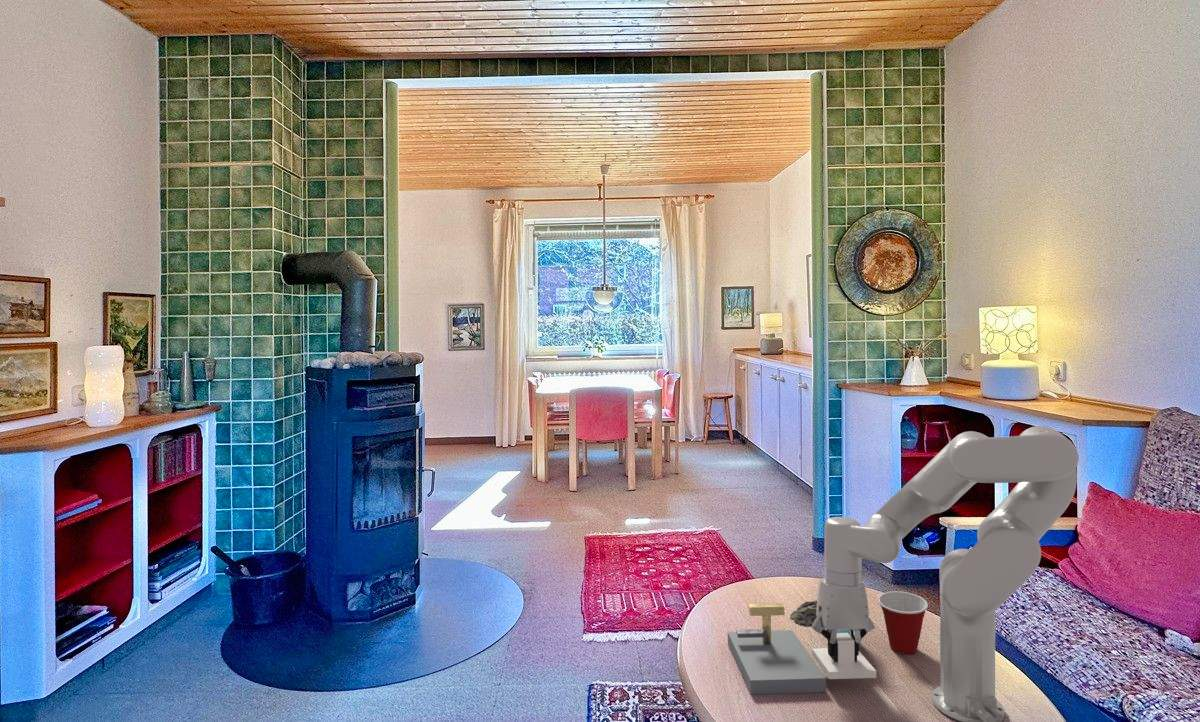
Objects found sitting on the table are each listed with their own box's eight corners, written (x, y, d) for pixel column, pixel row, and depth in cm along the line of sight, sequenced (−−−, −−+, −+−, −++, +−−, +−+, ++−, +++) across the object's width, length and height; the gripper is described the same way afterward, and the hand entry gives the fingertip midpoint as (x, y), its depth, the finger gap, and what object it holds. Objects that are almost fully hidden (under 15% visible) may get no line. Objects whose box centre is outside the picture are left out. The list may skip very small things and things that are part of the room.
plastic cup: (869, 647, 151) (868, 598, 150) (892, 634, 157) (891, 587, 157) (914, 665, 142) (914, 613, 141) (936, 650, 148) (936, 601, 148)
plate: (825, 692, 132) (825, 678, 132) (750, 694, 132) (750, 680, 132) (792, 642, 154) (792, 630, 154) (727, 643, 154) (727, 631, 154)
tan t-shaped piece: (738, 644, 147) (737, 607, 147) (736, 640, 149) (735, 604, 149) (784, 643, 147) (784, 606, 147) (782, 639, 149) (782, 603, 149)
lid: (876, 677, 131) (876, 647, 131) (829, 679, 131) (829, 648, 131) (855, 654, 141) (855, 625, 141) (812, 655, 141) (812, 626, 141)
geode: (787, 604, 177) (791, 628, 163) (787, 590, 177) (791, 613, 163) (859, 610, 173) (869, 635, 158) (859, 596, 173) (869, 619, 158)
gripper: (872, 568, 140) (872, 649, 140) (799, 570, 139) (799, 651, 140) (888, 581, 132) (888, 666, 133) (811, 583, 132) (811, 668, 132)
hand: (843, 657), depth 136 cm, fingers closed on lid, 3 cm apart
